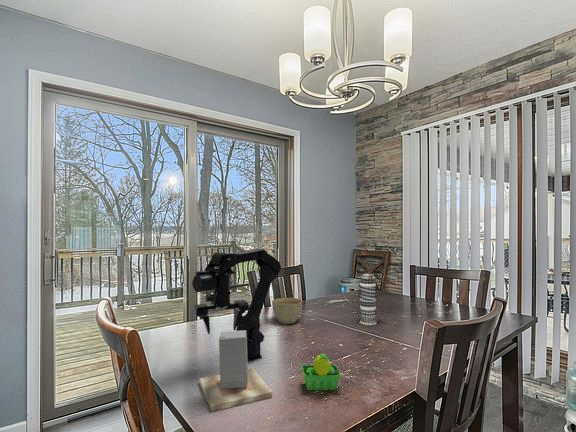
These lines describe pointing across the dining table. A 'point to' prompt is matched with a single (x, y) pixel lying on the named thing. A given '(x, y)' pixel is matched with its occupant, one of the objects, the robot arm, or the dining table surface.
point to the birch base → (234, 391)
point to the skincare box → (233, 359)
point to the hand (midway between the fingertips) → (221, 331)
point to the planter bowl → (287, 309)
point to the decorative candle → (368, 299)
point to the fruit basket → (321, 374)
